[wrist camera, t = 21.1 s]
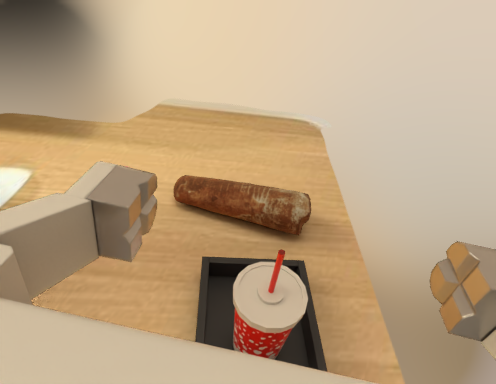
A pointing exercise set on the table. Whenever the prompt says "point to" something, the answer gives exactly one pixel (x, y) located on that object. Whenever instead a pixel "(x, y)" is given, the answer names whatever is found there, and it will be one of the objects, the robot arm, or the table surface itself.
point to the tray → (223, 311)
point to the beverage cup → (266, 307)
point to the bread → (246, 202)
